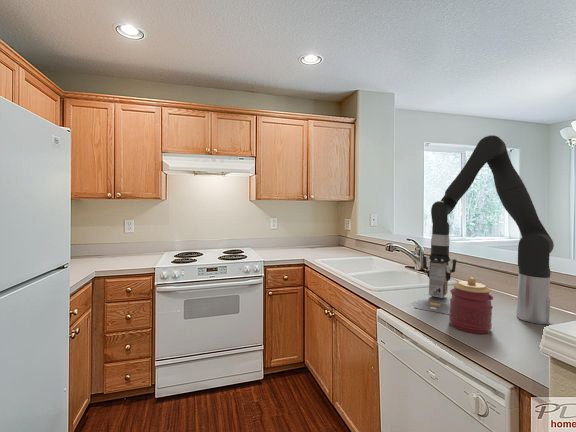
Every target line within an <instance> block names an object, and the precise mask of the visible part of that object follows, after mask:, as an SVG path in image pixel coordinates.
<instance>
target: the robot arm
mask: <svg viewBox="0 0 576 432" xmlns="http://www.w3.org/2000/svg"><path fill="white" fill-rule="evenodd" d="M486 164H487V165H488V167H489V169H490V171H491V173H492V176H493V181H494V182H493V183H494V186H495V191H496V194H497V196H498V197H499V199H500V202H501V204H502V207H503V208H504V209H505V211H506V213H508V214H509V216H510V217H511V218H512V220H513V221H514V222H515V224H516V225H517V228H518V229H519V232H520V235H521V238H520V239H519V241H518V245H517V246H518V247H517V266H518V278H517V279H518V283H517V297H516V301H517V302H516V312H515V313H516V314H515V315H516V318H517V319H520V320H521V321H524V322H528V323H533V324H538V325H549V324H550V315H551V314H550V313H551V298H550V283H551V273H552V272H551V269H550V255H551V253H552V251H554V246H555V244H554V240H553V238H552V237H551V236H550V234H549V233H548V232H547V230H546V229H545V226H544V225H543V223H542V221H541V219H540V217H539V216H538V213H537V210H536V208H535V205H534V203H533V200H532V199H531V196H530V194H529V191H528V189H527V187H526V185H525V183H524V182H523V179H522V177H521V176H520V175H519V173H518V172H517V170H516V169H515V167H514V166H513V164H512V161H511V158H510V155H509V152H508V149H507V146H506V143H505V142H504V141H503V139H501V137H499V136H497V135H493V134H489V135H485V136H484V137H482V138H481V139H480V140H479V141H478V142H477V144H476V146H475V148H474V150H473V151H472V153H471V155H470V157H469V158H468V160H467V161H466V163H465V164H464V166H463V167H462V169H461V170H460V172H459V173H458V174H457V176H456V177H455V178H454V180H453V181H452V182H451V183H450V184H449V185H448V187H447V188H446V190H445V191H444V195H443V196H442V198H441V199H440V200H437V201H435V202H433V204H432V205H431V209H430V213H431V215H430V216H431V223H432V229H431V230H432V231H431V239H430V255H423V256H422V259H423V260H422V265H423V269H424V270H426V271H427V278H429V275H430V265H429V266H428V265H427V264H428V263H427V261H428V260H430V261H431V260H434V261H441V262H447V263H448V265H446V270H447V281H448V282H449V281H450V280H451V274H452V273H455V272H456V267H457V258H452V257H450V224H449V222H448V216H449V215H450V214H451V213H452V212H453V210H454V209H455V207H456V205H457V204H458V203H459V201H460V200H461V198H463V196H464V195H465V194H466V193H467V191H468V190H469V189H470V187H471V186H472V185H473V183H474V181H475V180H476V177H477V176H478V174H479V173H480V171H481V169H482V168H483V167H484V166H485V165H486ZM449 262H450V263H451V264H452V267H451V268H450V267H449Z"/></svg>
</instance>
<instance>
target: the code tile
mask: <svg viewBox="0 0 576 432" xmlns="http://www.w3.org/2000/svg"><path fill="white" fill-rule="evenodd" d="M413 309H418V310H422V311H428V312H433V313H439V314H443V315H450V303H447V302H440V301H434V300H427V299H424V298H423V299H422V298H418V300H417V301H416V302H415V305H414V307H413Z"/></svg>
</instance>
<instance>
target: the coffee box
mask: <svg viewBox="0 0 576 432" xmlns="http://www.w3.org/2000/svg"><path fill="white" fill-rule="evenodd" d="M446 265H448V266H449V262H448V263H447V262H441V261H434V260H430V261H429V266H430V275H429V277H428V279H429V280H428V296H431V297H436V298H441V299H443V298H445V296H447V294H448V289H449V287H448V285H449V284H448V283H449V281H447V270H446Z"/></svg>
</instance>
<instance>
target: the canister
mask: <svg viewBox="0 0 576 432" xmlns="http://www.w3.org/2000/svg"><path fill="white" fill-rule="evenodd" d="M452 285H453V288H452V289H450V294H451V298H450V299H449V302H450V303H449V304H450V315H449V316H448V319H449V324H450V325H451V326H452V327H453V328H455V329H458V330H460V331H463V332H465V333H466V332H467V333H470V334H477V335H478V334H479V335H481V334H482V335H483V334H489V333H490V332H492V331H491V330H492V326H493V323H492V317H493V316H492V314H493V308H494V307H493V305H492V300H493V299H494V296H493V295H492V294H490V293H491V291H492V290H491V289H490V288H489V287H487V286H486V285H485V284H483V283H480V282H477V279H476V278H475V277H468V278H467V280H460V281H458V282H455V283H453V284H452Z"/></svg>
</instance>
